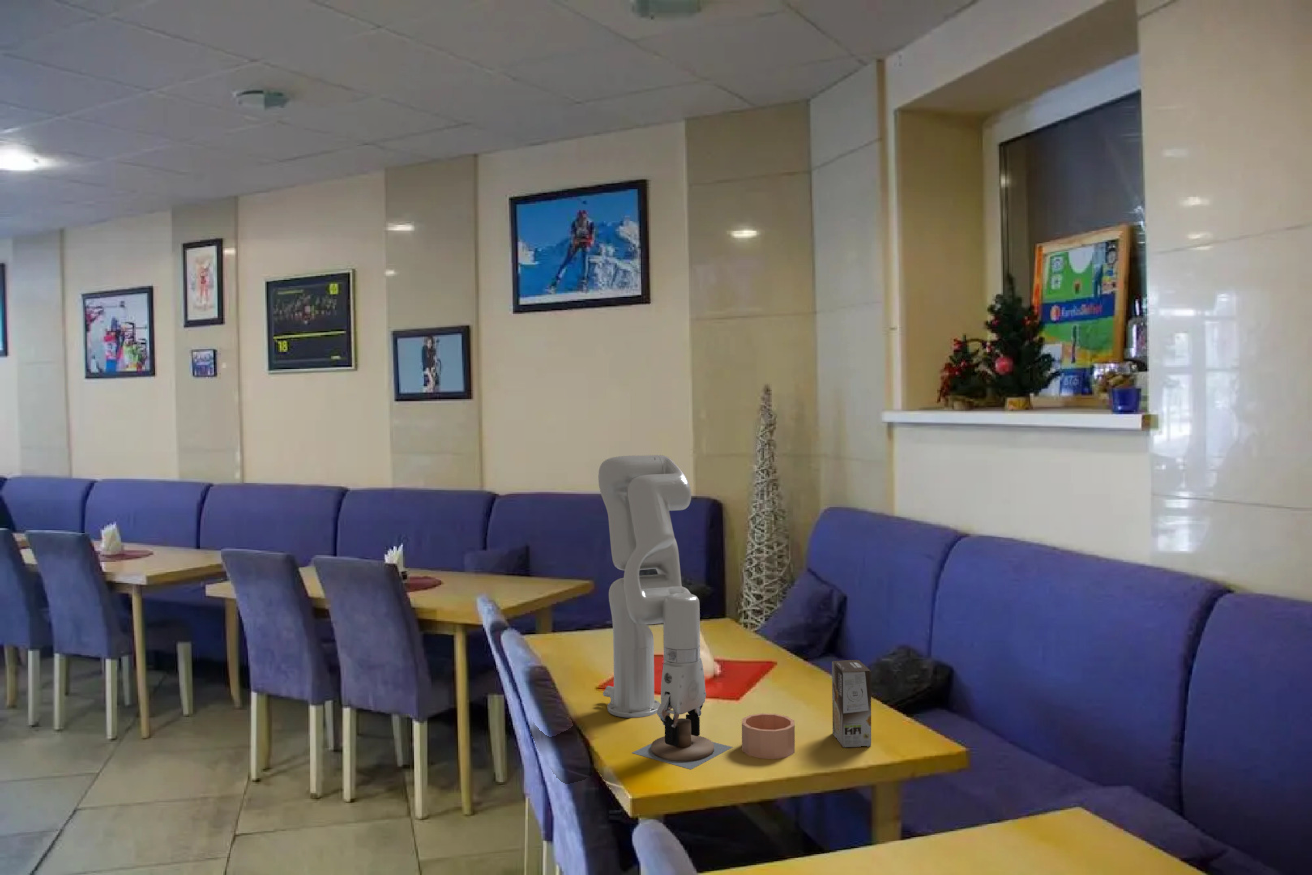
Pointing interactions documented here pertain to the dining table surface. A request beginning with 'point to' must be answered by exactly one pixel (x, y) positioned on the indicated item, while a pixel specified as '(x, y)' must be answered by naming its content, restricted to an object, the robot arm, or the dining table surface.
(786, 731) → the bowl
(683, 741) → the lid
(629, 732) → the dining table surface
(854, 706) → the coffee box
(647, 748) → the mat
